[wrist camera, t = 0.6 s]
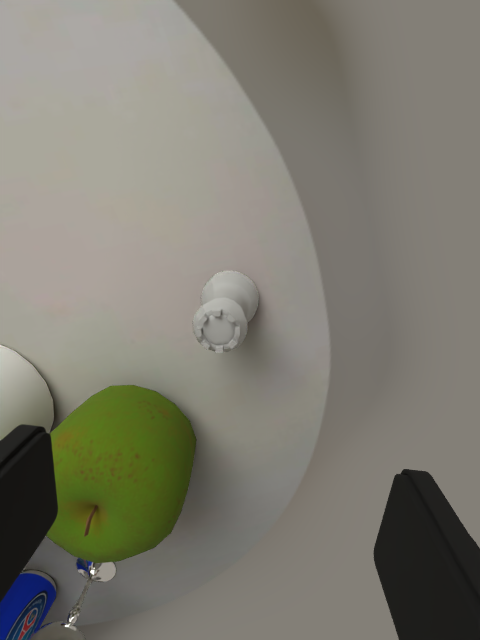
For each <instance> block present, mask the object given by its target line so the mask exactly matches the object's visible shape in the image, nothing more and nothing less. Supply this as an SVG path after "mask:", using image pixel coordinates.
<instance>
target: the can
mask: <svg viewBox="0 0 480 640" xmlns="http://www.w3.org/2000/svg"><path fill="white" fill-rule="evenodd" d="M53 421H54V406H53V399H52V396H51V394H50V391H49V389H48V386H47V384H46V382H45V380H44V379H43V378H42V376H41V375H40V374H39V373H38V371H37V370H36V369H35V367H34V366H33V365H32V364H31V363H29V362H28V361H27V360H26V359H24V358H23V357H22V356H21V355H19V354H18V353H17V352H15V351H14V350H11V349H9V348H7V347H5V346H2V345H0V441H1V440H2V439H3V438H4V437H5V436H6V435H8V434H9V433H10V432H11V431H12V430H13V429H14V428H16V427H17V426H19V425H21V424H25V425H33V426H42V427H44V428H45V429H46V433H50V430H51V427H52V424H53Z"/></svg>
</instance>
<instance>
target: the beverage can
mask: <svg viewBox="0 0 480 640" xmlns="http://www.w3.org/2000/svg"><path fill="white" fill-rule="evenodd" d="M55 598H56V585H55V582H54V580H53V579H52V578H51V577H50V576H49V575H47V574H45V573H43V572H41V571H37V570H28V571H25V572H22V573H21V574H19V576H18V577H17V579H16V580H15V582H14V583H13V585H12V586H11V588H10V589H9V591H8V592H7V594H6V595H5V597H4V598H3V599H2V601H1V602H0V640H28V639H29V638H30V636H31V635H32V634H33V633H34V632H36V631H37V630H38V629H39V628H40V626H41V624H42V622H43V621H44V619H45V617H46V615H47V613H48V611H49V609H50V607H51V606H52V604H53V602H54V600H55Z"/></svg>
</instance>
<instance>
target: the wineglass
mask: <svg viewBox="0 0 480 640" xmlns="http://www.w3.org/2000/svg"><path fill="white" fill-rule="evenodd" d="M76 567H77V570H78V572H79V573H80V574H81V575H82V576H83V577H85V578H86V579H87V583H86V585H85V587H84V589H83V591H82V594H81V595H80V597H79V599H78V601H77V602H76V604H75V605H74V606H73V607H72V609H71V611H70V612H69V615H68V618H67V622H60V621H59V622H52V623H48V624H46V625H44V626H42V627H41V628H39V629H38V630H37V631H36V632H34V633H33V634H32V635H31V636H30V638H29V639H28V640H86V639H85V636H84V635H83V633H82V632H81V630H80V629H79V628H77V627H76V626H75V625H73V624H74V623H75V622H76V621H77V619H78V617H79V615H80V612H81V607H82V604H83V601H84V598H85V595H86V593H87V591H88V589H89V587H90V585H91V583H92V582H93V581H94V582H106V581H109V580H111V579H112V578H113V577H114V576H115V574H116V566H115V564H114V562H107V563H93V562H90V561H87V560H84V559H81V558H78V559H77V562H76Z"/></svg>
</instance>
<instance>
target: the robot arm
mask: <svg viewBox="0 0 480 640" xmlns="http://www.w3.org/2000/svg"><path fill="white" fill-rule="evenodd" d="M57 513H58V502H57V492H56V482H55V472H54V462H53V452H52V442H51V435H50V434H49V433H46V429H45V428H44V427H42V426H33V425H25V424H21V425H19V426H17V427H16V428H14V429H13V430H12V431H11V432H10V433H9V434H8V435H6V436H5V437H4V438H3V439H2V440H1V441H0V602H1V601H2V599H3V598H4V597H5V595H6V594H7V592H8V591H9V589H10V588H11V586H12V585H13V583H14V582H15V580H16V579H17V577H18V576H19V574H20V573H21V571H22V570H23V568H24V567H25V565H26V564H27V562H28V561H29V559H30V558H31V556H32V555H33V553H34V552H35V550H36V549H37V547H38V546H39V544H40V543H41V541H42V540H43V538H44V537H45V535H46V534H47V532H48V531H49V530H50V528H51V527H52V525H53V523H54V522H55V519H56V517H57ZM374 561H375V566H376V569H377V572H378V575H379V578H380V581H381V584H382V588H383V590H384V594H385V597H386V600H387V603H388V606H389V609H390V613H391V616H392V619H393V622H394V625H395V628H396V631H397V634H398V637H399V640H480V548H479V547H478V546H477V544H476V542H475V541H474V540H473V539H472V538H471V536H470V535H469V534H468V532H467V530H466V529H465V527H464V526H463V524H462V523H461V522H460V520H459V518H458V516H457V515H456V513H455V512H454V510H453V509H452V507H451V506H450V504H449V502H448V501H447V499H446V498H445V496H444V495H443V493H442V491H441V490H440V488H439V487H438V485H437V484H436V483H435V481H434V479H433V477H432V476H431V475H430V474H429V473H428V472H426V471H417V470H409V469H404V470H403V471H402V472H401V474H396V475H395V477H394V480H393V484H392V487H391V491H390V494H389V498H388V501H387V505H386V508H385V512H384V515H383V519H382V522H381V526H380V530H379V533H378V536H377V540H376V543H375V547H374Z"/></svg>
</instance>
